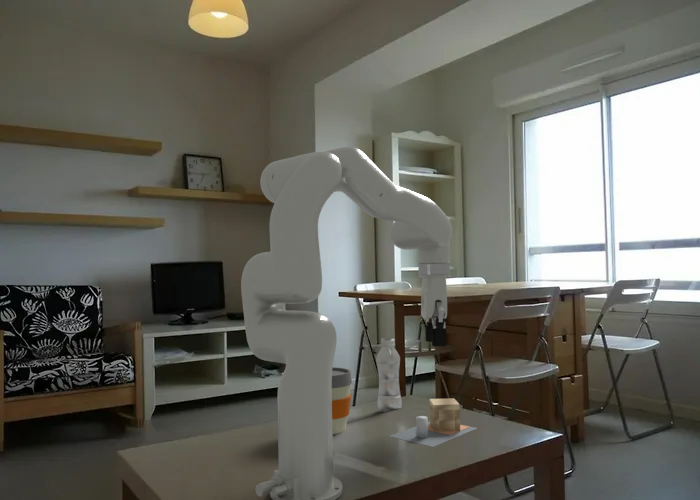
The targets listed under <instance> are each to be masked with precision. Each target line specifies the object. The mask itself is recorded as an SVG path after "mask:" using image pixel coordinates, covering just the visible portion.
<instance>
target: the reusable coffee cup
mask: <svg viewBox="0 0 700 500" xmlns="http://www.w3.org/2000/svg"><path fill="white" fill-rule="evenodd" d="M352 381H353V380H352V373H351V370H350V369H348V368H344V367H337V366H336V367H335V366H334V367H333V368H332V435H337V434H340V433H343V432H345V431H346V429H347V421H348V416H349V414H350V410H351V409H350V407H351V400H352V395H351V391H350V390H351V385H352V383H353V382H352Z"/></svg>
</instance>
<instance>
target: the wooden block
mask: <svg viewBox="0 0 700 500" xmlns="http://www.w3.org/2000/svg"><path fill="white" fill-rule="evenodd" d="M428 399H429V421H430V425H431V427H432V428H433V430H434V431H460V425H461V413H460V412H461V409H460V403H459V402H458V400H456V399H455V398H452V397H451V398H428Z"/></svg>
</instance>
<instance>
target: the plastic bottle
mask: <svg viewBox="0 0 700 500" xmlns="http://www.w3.org/2000/svg"><path fill="white" fill-rule="evenodd" d="M380 341H381V342H380V346H381V349H380V350H379V352H377V354H376V366H377V374H378V383H379V384H378V395H377V396H378V397H377V408H378V409H379V411H380V412H382V413H388V412H392V411H395V410H399V409H401V408H402V403H403V400H402V396H401V390H400V378H399V377H400V363H401V356H400V354H399V353H398V351H397V350H396V348H395V346H396V343H395V341H396V340H395V338H393V337H392V338H391V337H390V338H389V337H384V338H381V339H380Z"/></svg>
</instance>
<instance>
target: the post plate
mask: <svg viewBox="0 0 700 500" xmlns="http://www.w3.org/2000/svg"><path fill="white" fill-rule="evenodd" d="M428 418H429V417H428V416H425V415H420V416H416V417H415V426H413V427H411V428H410V427H409V428H408V429H405V430H402V431H400V432H396V433H394V434H391V435H388V437H390V438H395V439H398V440H402V441H406V442H410V443H414V444H418V445H422V446H427V447H431V448H434V447H437V446H439V445H442V444H445V443H447V442H448V441H450V440H453V439H455V438H459V437H460V436H463V435H465V434H468V433H471V432H472V431H475V430H477V429H478V427H473V426H469V425H463V424H460V431H434V430H433V428H432V427H431V425H430V420H429V419H428Z"/></svg>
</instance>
